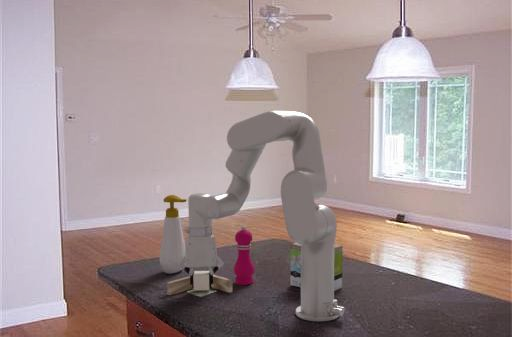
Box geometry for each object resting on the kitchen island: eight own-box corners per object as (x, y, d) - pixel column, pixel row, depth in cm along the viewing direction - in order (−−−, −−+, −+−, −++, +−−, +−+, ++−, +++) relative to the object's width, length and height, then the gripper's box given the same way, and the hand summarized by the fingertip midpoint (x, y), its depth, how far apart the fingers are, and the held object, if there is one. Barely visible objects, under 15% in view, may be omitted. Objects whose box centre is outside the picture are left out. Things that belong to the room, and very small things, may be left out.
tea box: (289, 286, 183) (289, 243, 182) (307, 279, 190) (307, 238, 189) (325, 295, 173) (325, 249, 171) (343, 288, 180) (343, 244, 179)
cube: (209, 290, 175) (208, 274, 174) (193, 290, 174) (193, 275, 174) (209, 285, 180) (209, 270, 179) (194, 285, 179) (194, 271, 179)
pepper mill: (252, 286, 183) (251, 227, 182) (231, 285, 185) (230, 227, 183) (256, 280, 190) (255, 224, 189) (236, 279, 192) (235, 223, 190)
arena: (232, 291, 177) (232, 279, 177) (195, 303, 166) (195, 291, 165) (204, 283, 187) (203, 272, 186) (167, 294, 175) (166, 282, 175)
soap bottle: (177, 278, 194) (175, 197, 192) (154, 274, 199) (151, 196, 196) (196, 269, 205) (195, 193, 203) (174, 266, 210) (172, 192, 208)
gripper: (173, 234, 171) (174, 290, 173) (226, 233, 172) (227, 289, 173) (175, 230, 179) (177, 283, 180) (227, 228, 180) (227, 282, 181)
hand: (201, 285), depth 177 cm, fingers closed on cube, 4 cm apart
